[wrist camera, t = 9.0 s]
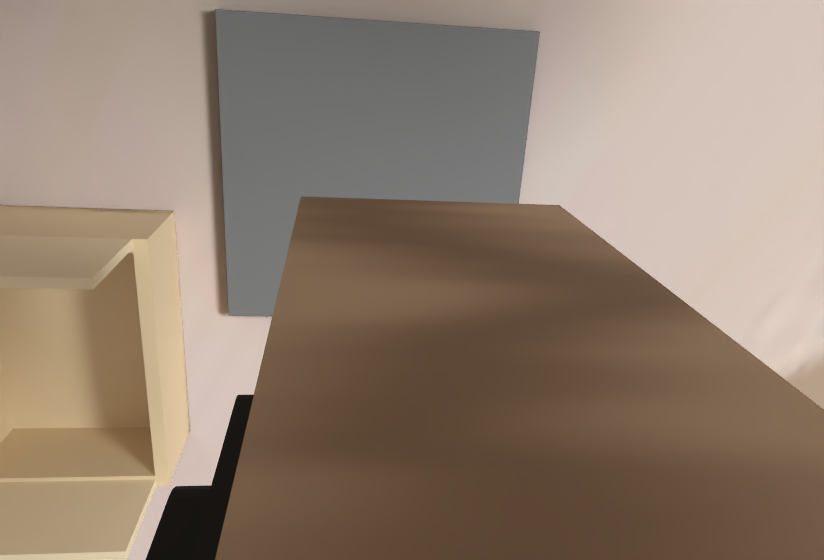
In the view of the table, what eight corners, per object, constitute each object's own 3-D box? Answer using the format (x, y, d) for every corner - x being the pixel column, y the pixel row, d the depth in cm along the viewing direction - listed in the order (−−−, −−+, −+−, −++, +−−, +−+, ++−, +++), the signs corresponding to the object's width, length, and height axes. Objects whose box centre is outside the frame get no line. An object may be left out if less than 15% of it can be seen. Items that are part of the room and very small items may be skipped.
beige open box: (174, 211, 30) (110, 278, 22) (189, 431, 34) (141, 558, 26) (-37, 204, 29) (-189, 272, 21) (7, 432, 33) (-105, 566, 25)
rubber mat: (536, 31, 29) (539, 31, 28) (501, 314, 34) (504, 319, 33) (217, 9, 27) (215, 9, 27) (230, 310, 32) (228, 315, 32)
